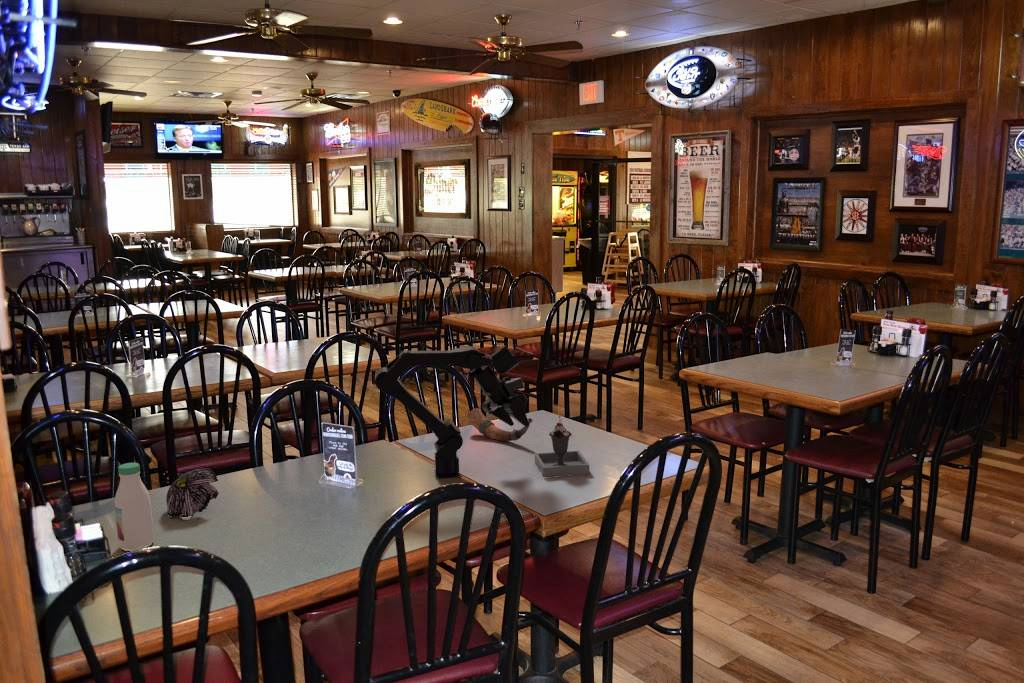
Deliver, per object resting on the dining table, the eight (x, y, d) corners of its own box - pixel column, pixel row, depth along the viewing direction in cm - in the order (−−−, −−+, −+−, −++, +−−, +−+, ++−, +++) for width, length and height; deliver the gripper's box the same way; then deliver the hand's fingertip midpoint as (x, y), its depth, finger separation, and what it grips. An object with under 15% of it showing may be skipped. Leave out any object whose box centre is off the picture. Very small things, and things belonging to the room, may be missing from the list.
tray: (543, 477, 238) (543, 467, 238) (534, 462, 252) (534, 453, 251) (589, 474, 240) (589, 464, 240) (578, 459, 253) (578, 450, 253)
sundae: (561, 461, 250) (561, 413, 248) (576, 467, 245) (576, 418, 242) (544, 466, 247) (544, 417, 244) (558, 471, 241) (558, 422, 239)
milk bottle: (159, 538, 201) (151, 459, 197) (147, 552, 193) (138, 470, 190) (127, 539, 201) (119, 460, 197) (113, 553, 193) (104, 471, 189)
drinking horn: (475, 430, 287) (474, 402, 285) (538, 447, 267) (537, 417, 265) (464, 433, 283) (463, 405, 281) (526, 451, 263) (526, 420, 261)
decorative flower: (146, 477, 216) (201, 450, 223) (159, 509, 222) (213, 482, 230) (166, 506, 206) (223, 477, 214) (179, 539, 212) (234, 510, 220)
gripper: (524, 365, 236) (554, 408, 239) (494, 368, 252) (523, 408, 256) (497, 390, 231) (528, 433, 235) (469, 391, 248) (498, 431, 251)
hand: (520, 425), depth 244 cm, fingers open, 9 cm apart
